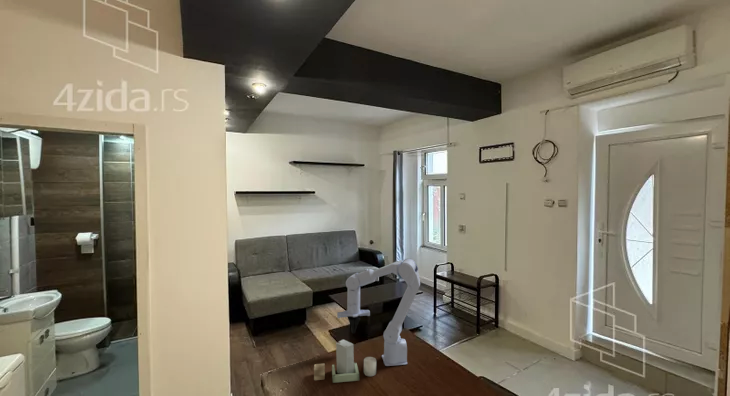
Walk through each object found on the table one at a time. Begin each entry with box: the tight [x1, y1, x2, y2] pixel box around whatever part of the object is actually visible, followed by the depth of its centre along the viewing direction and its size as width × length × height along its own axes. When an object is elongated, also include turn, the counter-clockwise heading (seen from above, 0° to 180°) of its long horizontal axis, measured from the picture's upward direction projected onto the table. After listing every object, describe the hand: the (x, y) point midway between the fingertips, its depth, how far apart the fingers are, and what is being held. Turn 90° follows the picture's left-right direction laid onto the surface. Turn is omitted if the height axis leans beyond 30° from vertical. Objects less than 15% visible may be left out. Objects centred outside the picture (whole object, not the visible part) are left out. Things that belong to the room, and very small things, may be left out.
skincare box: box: [335, 339, 355, 374], centre depth 120 cm, size 6×4×12 cm
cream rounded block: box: [363, 356, 377, 377], centre depth 120 cm, size 5×5×5 cm
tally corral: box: [331, 362, 360, 384], centre depth 118 cm, size 10×8×2 cm
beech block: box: [313, 363, 326, 381], centre depth 117 cm, size 4×4×4 cm
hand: (353, 332), depth 134 cm, fingers closed
